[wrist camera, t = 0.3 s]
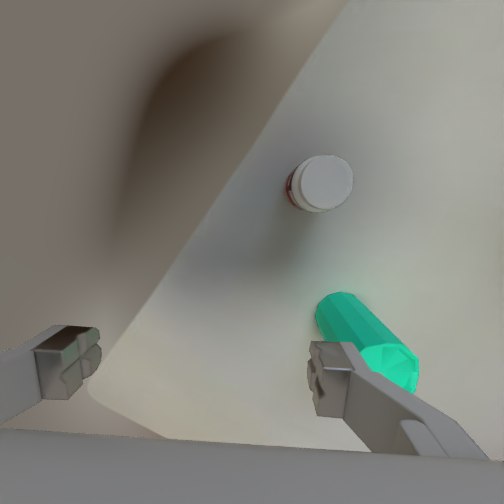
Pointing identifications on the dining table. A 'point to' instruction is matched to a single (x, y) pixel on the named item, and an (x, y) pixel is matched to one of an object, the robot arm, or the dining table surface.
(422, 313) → the dining table surface
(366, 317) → the candle
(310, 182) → the pill bottle
